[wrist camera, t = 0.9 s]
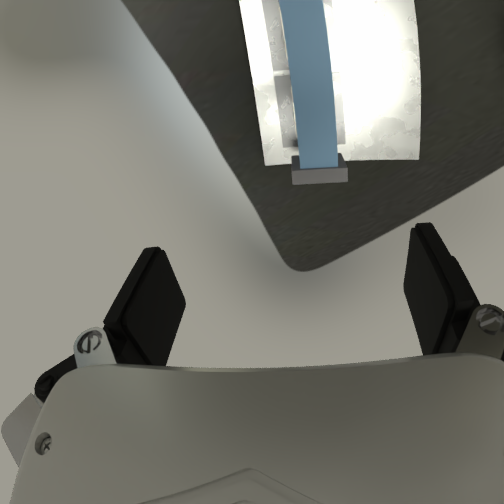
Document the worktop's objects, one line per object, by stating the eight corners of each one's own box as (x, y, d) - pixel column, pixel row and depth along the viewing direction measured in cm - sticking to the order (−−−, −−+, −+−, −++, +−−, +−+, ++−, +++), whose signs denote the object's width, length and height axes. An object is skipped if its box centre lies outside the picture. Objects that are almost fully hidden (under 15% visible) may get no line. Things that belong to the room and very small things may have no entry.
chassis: (236, -26, 21) (228, -36, 17) (401, -28, 18) (418, -37, 15) (266, 158, 33) (263, 175, 29) (412, 152, 30) (427, 169, 26)
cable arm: (261, -46, 16) (256, -60, 13) (316, -50, 16) (321, -65, 12) (292, 167, 28) (292, 185, 25) (341, 164, 27) (348, 182, 24)
